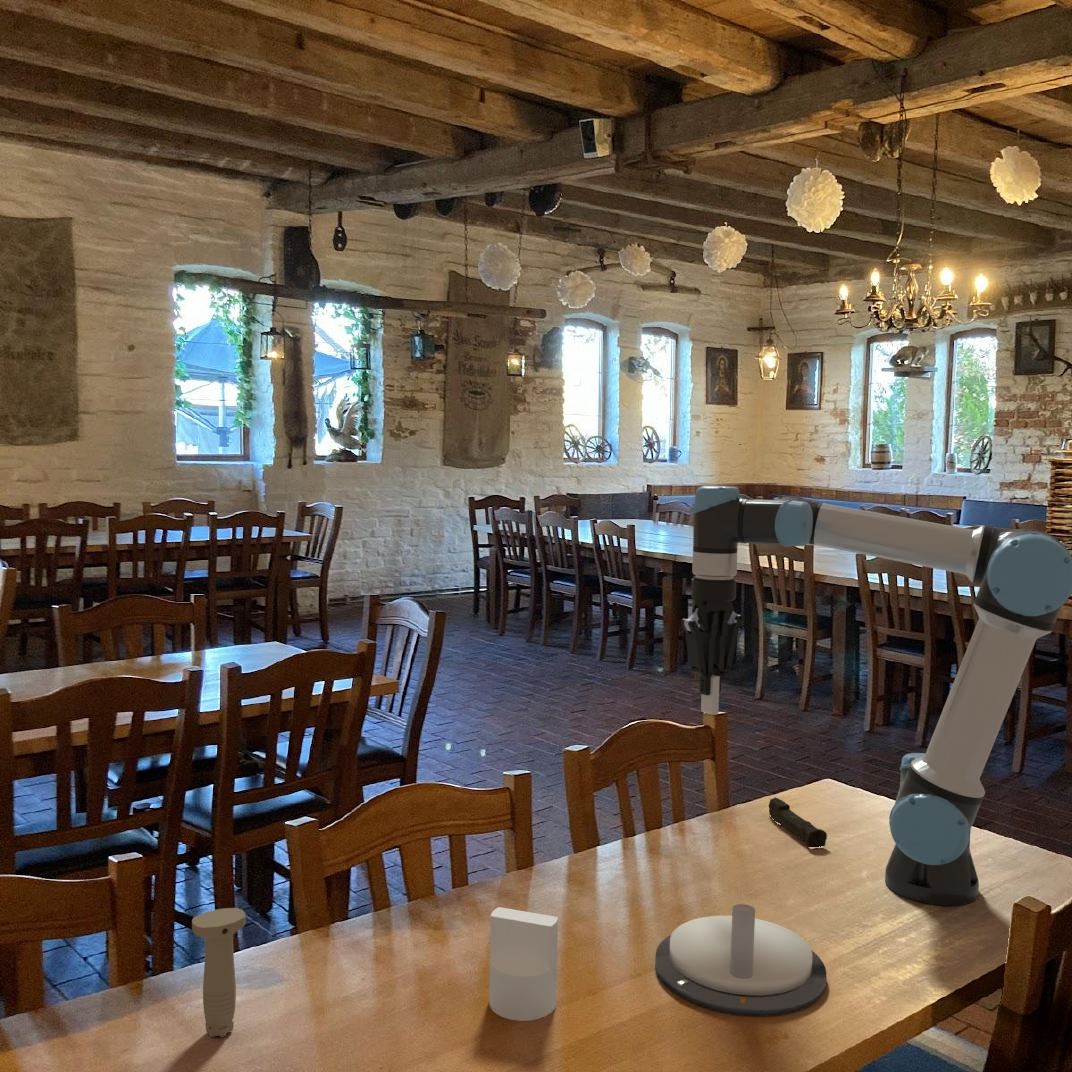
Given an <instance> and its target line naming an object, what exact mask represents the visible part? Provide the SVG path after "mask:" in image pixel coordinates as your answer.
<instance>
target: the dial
mask: <svg viewBox="0 0 1072 1072" xmlns="http://www.w3.org/2000/svg"><path fill="white" fill-rule="evenodd" d="M731 911H732V915H712V916H711V915H710V916H703V917H698V918H694V919H690V920H689V921H686V922H684V923H682V924H679V926H677V927H676V928H675V929H674V930H673V931H672V933H671V934H672V935H671V934H670V935H671V937H670V960H671V962H672V964H673V966H674V967H675V968H676V969H677V970H678V971H679V972H680V973H681V974H682V975H684V976H685V977H687V978H688V979H690V980H692V981H694V982H696V983H698V984H700V985H702V986H705V987H708V988H711V989H714V990H718V991H722V992H727V993H732V994H739V995H751V996H762V995H773V994H780V993H784V992H788V991H791V990H794V989H796V988H798V987H800V986H801V985H803V984H804V983H805V982H806V981H807V980H808V979H809V977H810V976H811V972H812V951H813V950H812V948H811V946H810V945H809V943H808V942H807V941H806V940H805V939H803V937H801V936H800V935H799V934H797V933H796V932H794V931H793V930H790V929H788V928H786V927H785V926H782V925H779V924H777V923H774V922H770V921H767V920H763V919H759V918H756V908H754V907H753V906H752V905H749V904H744V903H743V904H742V903H739V904H735V905H733V906H732V910H731ZM811 950H812V951H811Z"/></svg>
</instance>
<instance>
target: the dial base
mask: <svg viewBox="0 0 1072 1072" xmlns="http://www.w3.org/2000/svg"><path fill="white" fill-rule="evenodd" d="M671 935H672V933H671V934H670V935H668V936H667V937H666V936H665V938H663V940H662V941H661V942H660V943H659V945H658V946H657V948H656V949H655V959H654V960H655V961H654V962H655V963H654V966H655V968H654V969H655V972H656V975H657V977H658V979H659V980H660V982H661V983H662V984H663V985H664V986H665V987H666V988H667V989H668V990H669V989H670V990H669V991H671V992H672V993H673V994H675V995H677V996H678V997H679V998H681V997H682V998H681V999H683V1000H685V1001H687V1002H688V1003H692V1004H694V1005H697V1006H698V1005H699V1007H702V1008H704V1007H705V1009H707V1008H708V1010H710V1009H712V1010H711V1011H714V1010H716V1011H715V1012H719V1013H723V1014H728V1015H734V1016H735V1015H736V1016H743V1017H775V1016H783V1015H784V1016H785V1015H787V1014H788V1015H789V1014H793V1013H796V1012H800V1011H802V1010H806V1009H807V1008H809V1007H811V1006H813V1005H814V1004H815V1003H817V1002H818V1001H819V1000H820V999H821V998H822V996H823V995H825V991H826V987H827V986H826V985H827V969H826V966H825V964H824V962H823V961H822V959H821V958H820V957H819V955H817V953H816V952H814V951H813V950H812V949H811V951H812V972H811V976H810V977H809V979H808V980H807V981H806V982H805V983H804V984H803V985H801V986H800V987H798V988H796V989H794V990H791V991H788V992H784V993H780V994H773V995H762V996H751V995H739V994H732V993H727V992H722V991H718V990H714V989H711V988H708V987H705V986H702V985H700V984H698V983H696V982H694V981H692V980H690V979H688V978H687V977H685V976H684V975H682V974H681V973H680V972H679V971H678V970H677V969H676V968H675V967H674V966H673V964H672V962H671V960H670V937H671Z"/></svg>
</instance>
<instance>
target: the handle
mask: <svg viewBox="0 0 1072 1072" xmlns="http://www.w3.org/2000/svg"><path fill="white" fill-rule="evenodd" d="M246 919H247V918H246V912H245V911H244V910H243V909H241V908H237V907H226V908H218V909H213V910H209V911H205V912H203V913H200V914H199V915H197V916H196V915H195V916H194V917H193V918H192V920H191V928H192V929H191V930H192V932H193V934H194V935H195V936H197V937H199V938H202V939H204V964H203V965H204V966H203V981H202V982H203V983H202V984H203V985H202V1003H203V1014H204V1019H205V1024H204V1025H205V1031H206V1034H208V1036H209V1037H210V1038H212V1037H213V1038H216V1037H215V1036H220V1037H219V1038H221V1037H222V1038H224V1037H223V1036H225V1037H226V1036H227V1035H228V1034H229V1033H228V1032H230V1031H232V1032H233V1030H234V1023H235V1021H234V1017H235V1012H236V999H237V990H236V989H237V984H236V981H237V980H236V969H235V956H234V955H235V954H234V935H235V934H236V933H237V932H238V931H239V930H241V929H242V928H244V927H245V925H246V922H247V921H246ZM227 1033H228V1034H227ZM230 1033H231V1032H230ZM226 1034H227V1035H226Z"/></svg>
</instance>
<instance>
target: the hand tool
mask: <svg viewBox="0 0 1072 1072" xmlns="http://www.w3.org/2000/svg"><path fill="white" fill-rule="evenodd" d="M790 807H791V806H790V805H789V804H788V803H786V802H785V801H783V800H782V799H780V798H777V797H773V798H770V800H769V804H768V812H769V813H768V814H769V816H770V815H771V817H772V818H773V819H774V821H776V822H778V823H780V824H781V825H783V826H782V827H784V828H785V829H786V830H788V831H789V832H791V833H792V834H794V836H796V837H797V838H798V839H800V840H801V839H802V840H801V841H803V842H804V843H805V842H806V843H805V844H806V846H807V848H808V847H819V846H820V847H821V846H824V847H825V846H826V842H827V840H828V839H827V837H828V835H827V832H826V831H825V830H823V829H820V828H817V827H816V826H814V825H813V824H812V823H811V822H810V821H807V820H806V819H804V818H802V817H801V816H799V815H798V814H797V813H795V812H793V811H792V810H791V808H790ZM771 817H770V818H771ZM774 821H773V822H774Z"/></svg>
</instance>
